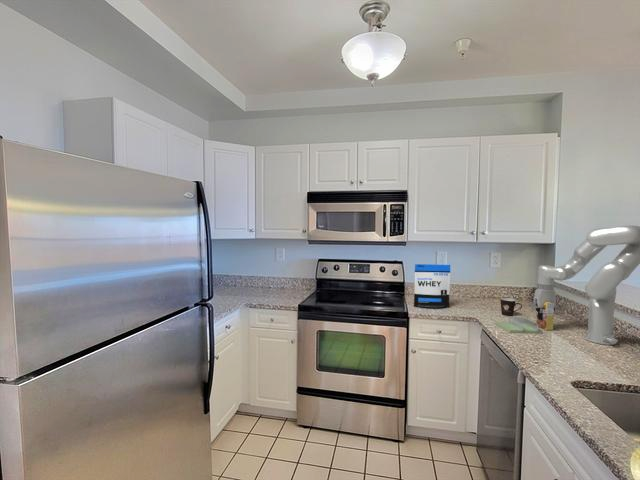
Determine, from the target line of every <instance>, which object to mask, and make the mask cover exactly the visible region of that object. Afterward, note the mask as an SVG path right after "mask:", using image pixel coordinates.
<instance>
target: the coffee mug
mask: <svg viewBox="0 0 640 480" xmlns="http://www.w3.org/2000/svg"><path fill="white" fill-rule="evenodd" d="M499 300H500V301H499V302H500V309H501V310H500V312H501V315H502V316H503V317H504V316H506V317H513V316H514V313H515V312H517V311H520V310H521V309H522V308H523V305H522V303H520V302H516V299H515V298H509V297H501V298H500V299H499ZM516 305H520V307H519V308H518V309H515V307H516Z"/></svg>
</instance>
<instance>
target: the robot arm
mask: <svg viewBox="0 0 640 480" xmlns="http://www.w3.org/2000/svg"><path fill="white" fill-rule="evenodd" d="M617 245H625V247H624V248H623V249H622V250H620V252H618V253H619V254H618V255H616V257H615V258H613V260H612V261H610V262H607V263H604V264H603V265H602V266H600V268H599V269H598V270H597V272H595V274H594V275H593V276H592V277H591V278H590V280H589V281H588V282H586V285H585V286H584V287H585V288H584V292H585V294H586V295H587V296H588V297H589V305H588V306H589V307H588V319H587V320H588V323H587V324H588V325H587V334H584V335H583V339H585V341H588V342H591V343H595V344H599V345H607V346H612V345H613V346H614V345H617V343H618V341H619V340H618V339H616V338H615V335H614V334H613V332H614V315H615V304H616V303H615V302H616V297H617V287H618V286H619V285H620V284H621V283H622V282H624V281H625V280H627V279H628V278H629V277H630V276H631V274H632V273H633V272H634V271H635V270H636V269H637V268H638V266H639V265H640V225H621V226H612V227H602V228H593V229H592V230H590V231H589V232H588V233H587V234H586V238H585V239H584V240H583V241H582V242H581V243H580V244H579V245H578V246H577V247H575V248H574V250H573V254H572V256H571V257H570V259H568V260H567V261H566V262H565V263H564V264H563V265H560V266H553V265H546V264H541V265H539V266H538V267H537V288H535V291H534V296H533V304H532V305H531V308H533V309H534V310H535V311H537V312H538V314H537V317H538V319H539V320H543V313H542V309H543V308H544V302H552V303H554V311H555V310H558V308H559V306H558V304H557V296H556V291H555V289H554V288H556V285H555V281H560V282H562V281H566V280H570V279H572V278H574V277H575V276H576V275H578V274H579V272H581V271H582V270H583V269H584V268H585V267H586V266H587V264H589V263H590V262H591V261H592V260H593V259H594V258H595V257H596V256H597V255H598V254H600V253H601V252H602V251H603V250H604V249H605V248H606V247H607V246H617ZM536 306H538V307H536Z"/></svg>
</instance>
